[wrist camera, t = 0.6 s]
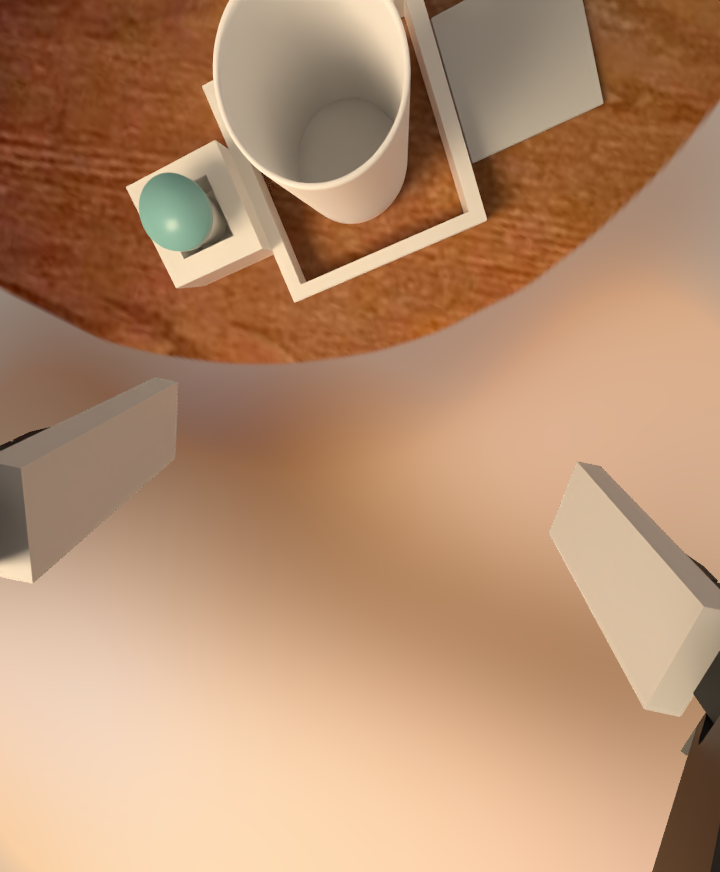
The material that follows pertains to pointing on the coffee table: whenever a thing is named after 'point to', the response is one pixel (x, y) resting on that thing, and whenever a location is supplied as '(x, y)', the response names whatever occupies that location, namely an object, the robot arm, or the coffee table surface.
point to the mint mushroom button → (180, 213)
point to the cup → (318, 98)
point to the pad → (516, 68)
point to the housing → (257, 215)
